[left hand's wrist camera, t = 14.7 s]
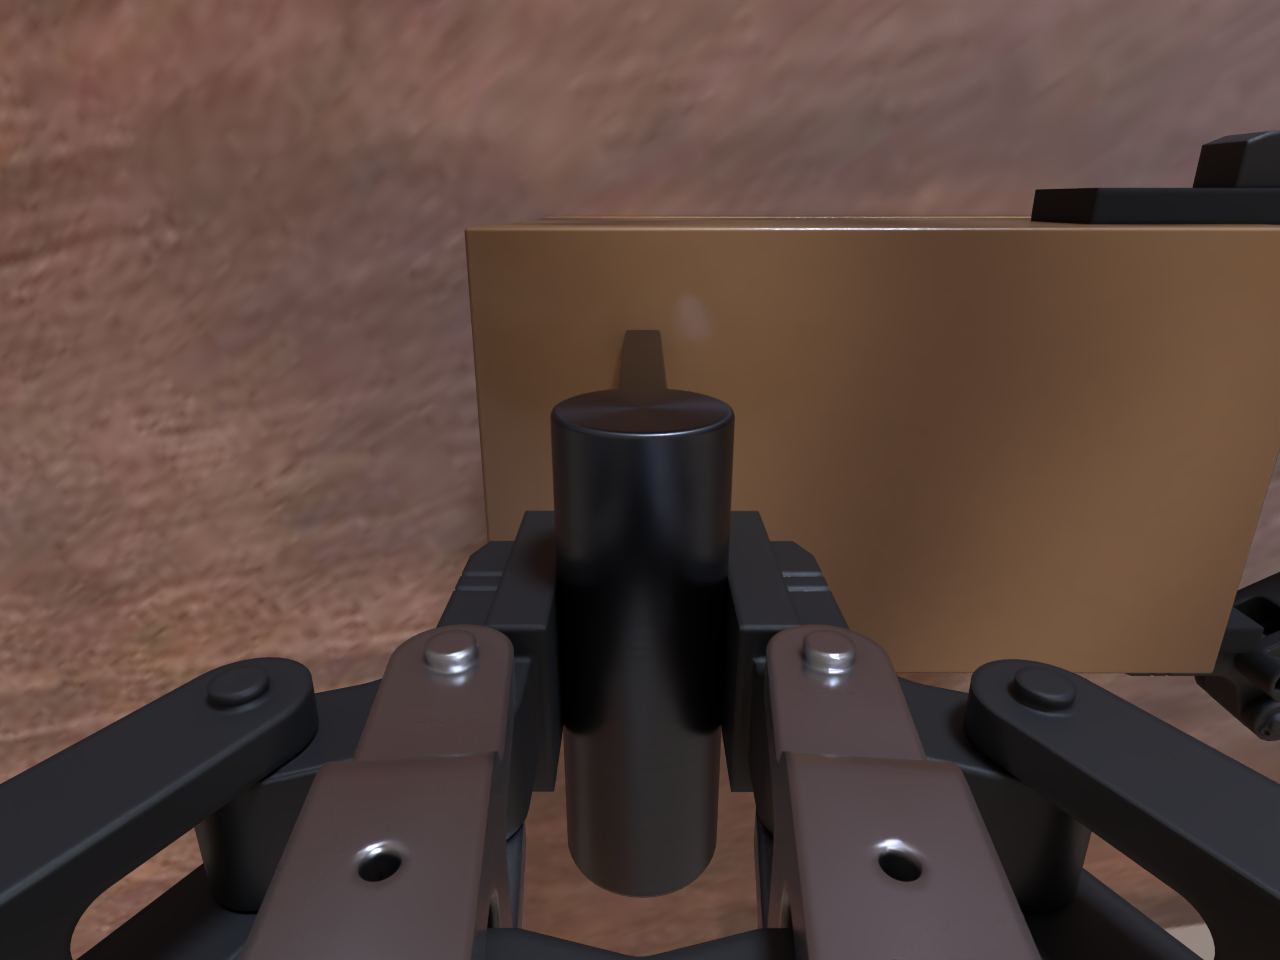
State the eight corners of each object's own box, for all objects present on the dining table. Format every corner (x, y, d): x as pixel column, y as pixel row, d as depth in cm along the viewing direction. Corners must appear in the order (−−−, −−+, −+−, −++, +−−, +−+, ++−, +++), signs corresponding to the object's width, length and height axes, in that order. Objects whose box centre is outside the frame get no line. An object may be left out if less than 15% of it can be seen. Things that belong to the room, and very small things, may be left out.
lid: (505, 646, 19) (397, 994, 11) (475, 225, 16) (283, 254, 7) (1181, 647, 19) (1603, 998, 11) (1300, 225, 16) (2060, 254, 7)
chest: (558, 511, 27) (522, 646, 19) (547, 216, 24) (497, 224, 16) (1017, 512, 27) (1180, 647, 19) (1071, 216, 24) (1299, 224, 16)
